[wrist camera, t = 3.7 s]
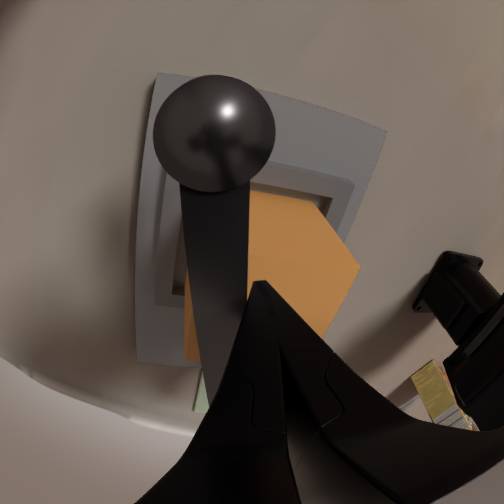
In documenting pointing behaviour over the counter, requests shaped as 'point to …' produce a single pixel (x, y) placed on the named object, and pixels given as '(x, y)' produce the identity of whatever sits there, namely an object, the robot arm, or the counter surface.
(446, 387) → the candy box
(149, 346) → the socket plate
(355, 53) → the counter surface
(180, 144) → the black knob lever
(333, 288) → the orange cube
